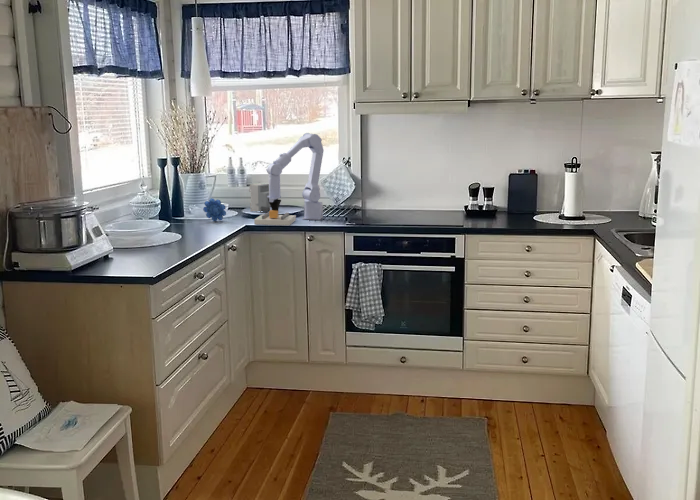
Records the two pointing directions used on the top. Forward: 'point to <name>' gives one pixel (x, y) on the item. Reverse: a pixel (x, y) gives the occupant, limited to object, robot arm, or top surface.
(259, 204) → the circuit breaker
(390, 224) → the top surface
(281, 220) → the panel
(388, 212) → the top surface
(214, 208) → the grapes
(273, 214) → the lever
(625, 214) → the top surface
